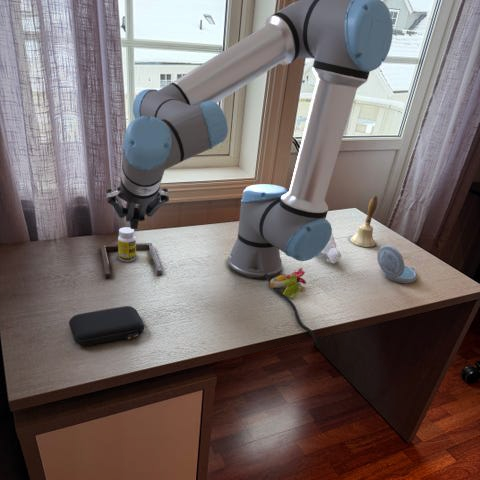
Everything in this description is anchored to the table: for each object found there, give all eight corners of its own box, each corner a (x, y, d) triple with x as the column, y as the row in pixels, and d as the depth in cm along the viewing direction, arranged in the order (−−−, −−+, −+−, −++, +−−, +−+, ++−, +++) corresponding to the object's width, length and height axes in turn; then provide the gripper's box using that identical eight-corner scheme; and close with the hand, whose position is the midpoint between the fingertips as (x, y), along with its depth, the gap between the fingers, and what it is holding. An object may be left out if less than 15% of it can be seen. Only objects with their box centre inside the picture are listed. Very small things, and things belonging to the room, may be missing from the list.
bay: (161, 275, 118) (161, 270, 117) (105, 278, 114) (105, 273, 113) (152, 247, 130) (152, 242, 130) (100, 249, 126) (100, 244, 125)
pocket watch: (378, 239, 126) (412, 232, 133) (368, 273, 132) (401, 264, 140) (406, 255, 119) (440, 246, 127) (393, 289, 126) (427, 279, 133)
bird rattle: (264, 278, 114) (300, 276, 111) (273, 261, 123) (305, 259, 120) (268, 299, 117) (302, 298, 114) (275, 282, 126) (307, 280, 123)
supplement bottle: (131, 263, 121) (130, 235, 117) (115, 259, 122) (113, 231, 117) (139, 256, 125) (138, 228, 120) (124, 252, 126) (122, 225, 121)
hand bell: (346, 241, 149) (358, 195, 140) (355, 234, 155) (368, 189, 146) (369, 249, 146) (383, 203, 136) (378, 242, 152) (392, 197, 142)
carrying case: (77, 354, 90) (148, 339, 96) (76, 342, 88) (148, 328, 94) (68, 324, 97) (134, 312, 103) (66, 313, 95) (134, 301, 101)
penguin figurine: (327, 222, 138) (352, 242, 130) (320, 246, 143) (343, 266, 136) (311, 224, 135) (335, 245, 127) (304, 248, 140) (327, 269, 133)
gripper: (108, 198, 83) (107, 239, 105) (177, 196, 87) (162, 237, 109) (103, 160, 84) (103, 209, 106) (172, 160, 88) (158, 208, 110)
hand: (133, 223), depth 107 cm, fingers closed
